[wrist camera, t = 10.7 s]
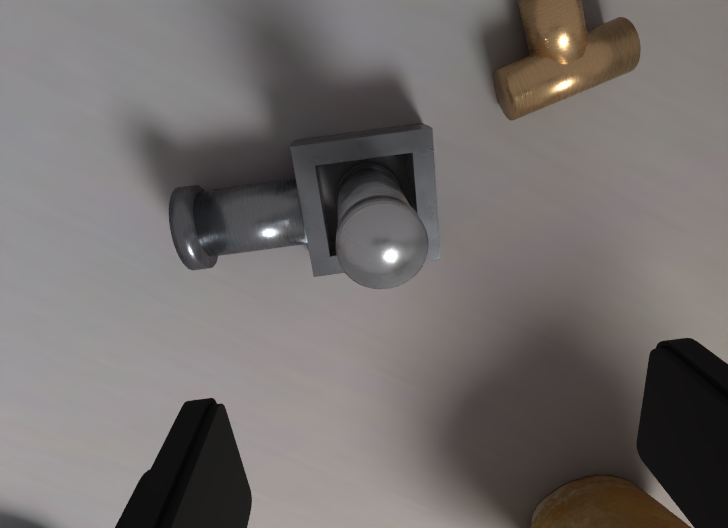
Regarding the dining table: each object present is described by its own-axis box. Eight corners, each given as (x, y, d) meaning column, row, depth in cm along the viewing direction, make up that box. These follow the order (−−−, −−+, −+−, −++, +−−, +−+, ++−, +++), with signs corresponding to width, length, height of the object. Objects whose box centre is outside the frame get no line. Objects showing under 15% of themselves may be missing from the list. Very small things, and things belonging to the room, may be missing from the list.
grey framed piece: (422, 123, 27) (439, 131, 23) (430, 243, 31) (447, 272, 26) (182, 155, 27) (151, 170, 23) (215, 272, 30) (193, 307, 26)
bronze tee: (502, 118, 28) (520, 122, 25) (475, 16, 25) (492, 9, 23) (612, 72, 27) (643, 71, 24) (594, -37, 25) (627, -51, 22)
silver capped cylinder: (396, 158, 28) (426, 196, 19) (402, 221, 30) (432, 284, 21) (331, 167, 28) (329, 209, 19) (341, 229, 30) (342, 296, 21)
